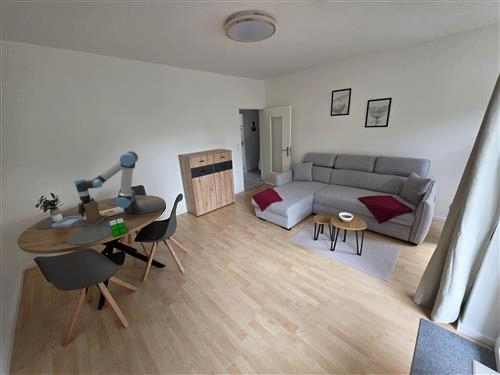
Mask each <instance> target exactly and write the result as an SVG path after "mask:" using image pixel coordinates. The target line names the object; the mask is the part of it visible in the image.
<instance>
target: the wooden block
mask: <svg viewBox="0 0 500 375" xmlns="http://www.w3.org/2000/svg"><path fill="white" fill-rule="evenodd" d="M97 204H98V203H97V201H96V200H95V201H91V202H88V203H87V204H83V207H84V208H85V211H84V213H85V214H86V217H87V219H85V220H84V219H83V217H82V219H83V222H84V223H95V222H96V221H98V220H100V219H101V215H102V214H101V213H100V209H99V207H98V205H97ZM77 208H79V203H78V204H77ZM80 216H82V215H81V214H80Z"/></svg>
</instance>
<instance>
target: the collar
mask: <svg viewBox="0 0 500 375" xmlns="http://www.w3.org/2000/svg"><path fill="white" fill-rule="evenodd" d="M100 215H101V219H100V220H98V221H96V222H95V223H84V222H83V220H82V221H80V222H78V223H77V224H76V225H75V226H76V227H96V226H97V225H98V224H100V223H101V222H103V221H105V220H107V219H108V218H109V217H110V216H109V214H100ZM95 225H96V226H95Z"/></svg>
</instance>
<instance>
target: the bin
mask: <svg viewBox="0 0 500 375" xmlns="http://www.w3.org/2000/svg"><path fill="white" fill-rule="evenodd" d="M82 220H83V219H82V216H81V215H69V216H65V217H64V218H62V219H61V220H58V221H57V222H54V223H53V224H51V227H52V229H60V228H61V229H63V228H64V229H65V228H66V229H67V228H70V229H71V228H73V227H75V226H76V224H77V223H78V222H80V221H82Z"/></svg>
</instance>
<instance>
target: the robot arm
mask: <svg viewBox="0 0 500 375" xmlns="http://www.w3.org/2000/svg"><path fill="white" fill-rule="evenodd" d="M138 156H139V155H138V154H137V153H136V152H135V151H127V152H124V153H122V154H121V155H120V157H119V161H117V162H116V163H115V164H114V165H112V166H111V167H109V168H108V169H106V170H105V171H104V172H102V173H101V174H100V175H98V176H97V177H94V178H93V179H89V180H86V179H85V178H78V179H74V185H75V187H76V191H77V194H78V196H79V200H80V202H79V203H78V204H79V207H78V214H80V216H81V215H82V217H83V219H84V220H85V219H87V217H86V214H85V213H84V211H85V208H84V207H83V204H87V203H88V202H91V201H96V200H95V199H94V197H91V195H90V192H89V189H98V188H102V187H103V184H105V183H106V182H107V181H108V180H110V179H111V178H112V177H114V176H115V175H116V174H119V173H120V172H121V181H120V192H118V194H117V199H116V201H115V204H116V206H117V207H118V208H120V209H123V212H124V214H126V215H130V214H135V213H138V212H140V211H141V206H140V205H139V203H138V201H137V199H136V198H137V197H136V193H135V190H133V189H132V185H133V184H132V182H133V172H134V169H135V168H136V163H137V162H138V159H139V157H138ZM98 205H99V204H98V203H97V206H98ZM137 211H138V212H137Z"/></svg>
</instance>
